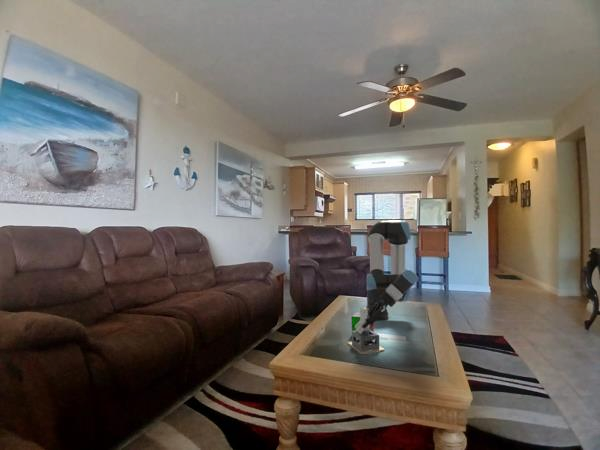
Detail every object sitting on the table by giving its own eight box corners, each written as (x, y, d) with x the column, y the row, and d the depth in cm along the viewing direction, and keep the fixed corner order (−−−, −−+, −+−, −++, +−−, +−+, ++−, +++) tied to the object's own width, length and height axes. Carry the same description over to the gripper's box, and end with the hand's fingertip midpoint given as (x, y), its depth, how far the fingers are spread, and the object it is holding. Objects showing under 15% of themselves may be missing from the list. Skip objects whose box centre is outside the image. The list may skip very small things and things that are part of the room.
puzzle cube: (373, 331, 168) (373, 313, 168) (370, 337, 159) (369, 318, 159) (356, 329, 172) (355, 311, 173) (351, 334, 163) (351, 316, 164)
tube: (359, 341, 147) (358, 308, 147) (367, 340, 148) (366, 307, 148) (363, 344, 142) (362, 310, 143) (372, 343, 143) (371, 309, 144)
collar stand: (347, 343, 150) (347, 329, 150) (369, 340, 153) (368, 327, 154) (361, 354, 137) (360, 339, 137) (384, 350, 140) (384, 336, 140)
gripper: (401, 305, 136) (365, 342, 136) (392, 297, 153) (360, 330, 154) (389, 293, 137) (353, 330, 137) (381, 287, 154) (349, 319, 154)
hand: (357, 330), depth 145 cm, fingers closed on tube, 4 cm apart
